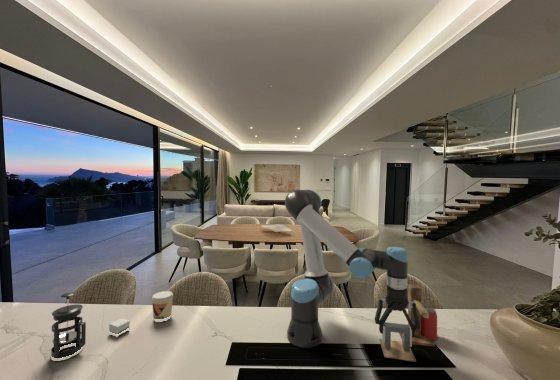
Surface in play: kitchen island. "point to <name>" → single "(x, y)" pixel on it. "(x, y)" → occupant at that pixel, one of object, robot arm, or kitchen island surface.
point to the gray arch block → (399, 329)
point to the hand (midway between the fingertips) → (396, 342)
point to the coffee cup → (162, 304)
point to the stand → (415, 296)
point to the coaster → (397, 351)
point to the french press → (69, 337)
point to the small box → (119, 326)
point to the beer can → (429, 324)
